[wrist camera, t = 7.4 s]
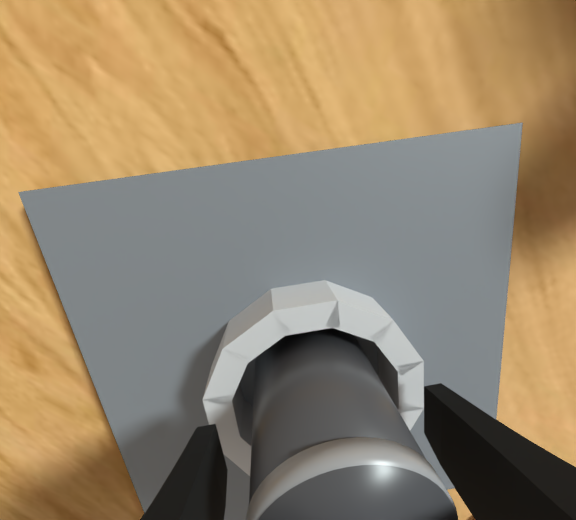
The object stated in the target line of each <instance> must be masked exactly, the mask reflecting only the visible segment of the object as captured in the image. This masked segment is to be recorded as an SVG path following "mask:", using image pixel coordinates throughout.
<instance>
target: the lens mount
mask: <svg viewBox="0 0 576 520" xmlns="http://www.w3.org/2000/svg"><path fill="white" fill-rule="evenodd" d="M522 124H523V123H517V124H509V125H502V126H495V127H488V128H480V129H473V130H466V131H459V132H451V133H444V134H437V135H430V136H422V137H415V138H408V139H401V140H393V141H386V142H379V143H372V144H364V145H357V146H350V147H343V148H335V149H328V150H321V151H314V152H306V153H299V154H292V155H285V156H277V157H270V158H263V159H256V160H248V161H241V162H234V163H227V164H219V165H212V166H205V167H198V168H190V169H183V170H176V171H169V172H161V173H154V174H147V175H140V176H132V177H125V178H118V179H111V180H103V181H96V182H89V183H82V184H74V185H67V186H60V187H53V188H45V189H38V190H31V191H24V192H18V193H19V195H20V198H21V200H22V203H23V205H24V208H25V210H26V213H27V215H28V218H29V221H30V223H31V226H32V228H33V231H34V233H35V236H36V238H37V241H38V243H39V246H40V248H41V251H42V254H43V256H44V259H45V261H46V264H47V266H48V269H49V271H50V274H51V276H52V279H53V282H54V284H55V287H56V289H57V292H58V294H59V297H60V299H61V302H62V304H63V307H64V310H65V312H66V315H67V317H68V320H69V322H70V325H71V327H72V330H73V332H74V335H75V338H76V340H77V343H78V345H79V348H80V350H81V353H82V355H83V358H84V360H85V363H86V366H87V368H88V371H89V373H90V376H91V378H92V381H93V383H94V386H95V388H96V391H97V394H98V396H99V399H100V401H101V404H102V406H103V409H104V411H105V414H106V416H107V419H108V422H109V424H110V427H111V429H112V432H113V434H114V437H115V439H116V442H117V444H118V447H119V450H120V452H121V455H122V457H123V460H124V462H125V465H126V467H127V470H128V472H129V475H130V478H131V480H132V483H133V485H134V488H135V490H136V493H137V495H138V498H139V500H140V503H141V506H142V508H143V511H144V513H145V512H146V510H147V509H148V507H149V506H150V504H151V503H152V501H153V500H154V498H155V497H156V495H157V493H158V492H159V490H160V489H161V487H162V485H163V484H164V482H165V480H166V479H167V477H168V476H169V474H170V472H171V471H172V469H173V467H174V466H175V464H176V462H177V460H178V459H179V457H180V455H181V454H182V452H183V450H184V448H185V447H186V445H187V443H188V441H189V440H190V438H191V436H192V434H193V433H194V431H195V429H196V428H197V427H200V426H206V425H211V424H216V427H217V431H218V435H219V439H220V443H221V446H222V450H223V454H224V458H225V462H226V466H227V469H228V471H227V492H226V508H225V515H224V520H246V516H247V511H248V507H249V491H250V468H251V445H252V422H253V399H254V376H255V361H256V357H257V356H258V355H260V354H261V353H262V352H264V351H265V350H267V349H268V348H269V347H271V346H272V345H273V344H275V343H276V342H277V341H279V340H280V339H281V338H283V337H284V336H287V335H293V334H299V333H305V332H311V331H317V330H323V329H329V328H335V329H337V330H340V331H343V332H346V333H349V334H352V335H354V336H355V338H356V339H357V341H358V342H359V344H360V346H361V347H362V349H363V351H364V353H365V354H366V356H367V358H368V359H369V361H370V363H371V365H372V366H373V368H374V370H375V372H376V373H377V375H378V377H379V378H380V380H381V382H382V384H383V385H384V387H385V389H386V390H387V392H388V394H389V396H390V397H391V399H392V401H393V403H394V404H395V406H396V408H397V409H398V411H399V413H400V415H401V416H402V418H403V420H404V422H405V423H406V425H407V427H408V428H409V430H410V432H411V434H412V435H413V437H414V439H415V441H416V442H417V444H418V446H419V447H420V449H421V451H422V453H423V454H424V456H425V458H426V459H427V461H428V462H429V463H430V464H431V465H432V467H433V468H434V470H435V471H436V473H437V474H438V476H439V478H440V479H441V481H442V483H443V484H444V486H445V488H446V490H447V489H452V488H455V487H454V486H453V484H452V482H451V481H450V479H449V478H448V476H447V475H446V473H445V471H444V470H443V468H442V467H441V465H440V463H439V461H438V459H437V457H436V455H435V454H434V452H433V450H432V448H431V446H430V444H429V442H428V440H427V438H426V436H425V434H424V386H428V385H434V384H439V383H442V384H443V385H445V386H446V387H448V388H449V389H451V390H452V391H454V392H455V393H457V394H458V395H460V396H461V397H463V398H464V399H466V400H467V401H469V402H470V403H472V404H473V405H475V406H476V407H478V408H479V409H481V410H482V411H484V412H485V413H487V414H488V415H490V416H491V417H493V418H494V419H496V416H497V404H498V393H499V382H500V371H501V359H502V348H503V337H504V326H505V315H506V303H507V292H508V281H509V270H510V259H511V247H512V236H513V225H514V214H515V202H516V191H517V180H518V169H519V158H520V146H521V135H522Z"/></svg>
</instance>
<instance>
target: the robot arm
mask: <svg viewBox="0 0 576 520" xmlns="http://www.w3.org/2000/svg"><path fill="white" fill-rule="evenodd" d="M424 434H425V436H426V438H427V440H428V442H429V444H430V446H431V448H432V450H433V452H434V454H435V455H436V457H437V459H438V461H439V463H440V465H441V467H442V468H443V470H444V471H445V473H446V475H447V476H448V478H449V479H450V481H451V482H452V484H453V486H454V487H455V489H456V490H457V492H458V493H459V495H460V496H461V498H462V500H463V501H464V503H465V504H466V506H467V507H468V509H469V510H470V512H471V513H472V515H473V516H474V518H475V520H576V467H574V466H572V465H571V464H569V463H567V462H565V461H563V460H562V459H560V458H558V457H557V456H555V455H553V454H551V453H550V452H548V451H546V450H545V449H543V448H541V447H539V446H538V445H536V444H534V443H533V442H531V441H529V440H528V439H526V438H525V437H523V436H521V435H520V434H518V433H516V432H515V431H513V430H512V429H510V428H508V427H507V426H505V425H504V424H502V423H501V422H499V421H498V420H496V419H494V418H493V417H491V416H490V415H488V414H487V413H485V412H484V411H482V410H481V409H479V408H478V407H476V406H475V405H473V404H472V403H470V402H469V401H467V400H466V399H464V398H463V397H461V396H460V395H458V394H457V393H455V392H454V391H452V390H451V389H449V388H448V387H446V386H445V385H443V384H442V383H439V384H434V385H428V386H424ZM227 471H228V469H227V466H226V462H225V458H224V454H223V450H222V446H221V443H220V439H219V435H218V431H217V427H216V424H211V425H206V426H200V427H197V428H196V429H195V431H194V433H193V434H192V436H191V438H190V440H189V441H188V443H187V445H186V447H185V448H184V450H183V452H182V454H181V455H180V457H179V459H178V460H177V462H176V464H175V466H174V467H173V469H172V471H171V472H170V474H169V476H168V477H167V479H166V480H165V482H164V484H163V485H162V487H161V489H160V490H159V492H158V493H157V495H156V497H155V498H154V500H153V501H152V503H151V504H150V506H149V507H148V509H147V510H146V512H145V513H144V515H143V516H142V518H141V519H140V520H224V515H225V508H226V492H227Z"/></svg>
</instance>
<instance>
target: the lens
mask: <svg viewBox="0 0 576 520" xmlns="http://www.w3.org/2000/svg"><path fill="white" fill-rule="evenodd" d="M246 520H458V516H457V511H456V507H455V505H454V502H453V500H452V498H451V496H450V495H449V493H448V491H447V490H446V488H445V486H444V484H443V483H442V481H441V479H440V478H439V476H438V474H437V473H436V471H435V470H434V468H433V467H432V465H431V464H430V463H429V462H428V461H427V459H426V458H425V456H424V454H423V453H422V451H421V449H420V447H419V446H418V444H417V442H416V441H415V439H414V437H413V435H412V434H411V432H410V430H409V428H408V427H407V425H406V423H405V422H404V420H403V418H402V416H401V415H400V413H399V411H398V409H397V408H396V406H395V404H394V403H393V401H392V399H391V397H390V396H389V394H388V392H387V390H386V389H385V387H384V385H383V384H382V382H381V380H380V378H379V377H378V375H377V373H376V372H375V370H374V368H373V366H372V365H371V363H370V361H369V359H368V358H367V356H366V354H365V353H364V351H363V349H362V347H361V346H360V344H359V342H358V341H357V339H356V338H355V336H354V335H352V334H349V333H346V332H343V331H340V330H337V329H335V328H329V329H323V330H317V331H311V332H305V333H299V334H293V335H287V336H284V337H283V338H281V339H280V340H279V341H277V342H276V343H275V344H273V345H272V346H271V347H269V348H268V349H267V350H265V351H264V352H262V353H261V354H260V355H258V356H257V357H256V361H255V376H254V399H253V422H252V445H251V468H250V491H249V507H248V511H247V516H246Z"/></svg>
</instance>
